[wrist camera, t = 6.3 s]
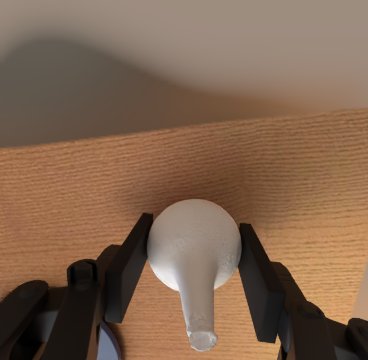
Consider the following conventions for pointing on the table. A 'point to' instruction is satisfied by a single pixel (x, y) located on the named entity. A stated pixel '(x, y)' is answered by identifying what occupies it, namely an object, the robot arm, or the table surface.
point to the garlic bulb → (195, 260)
